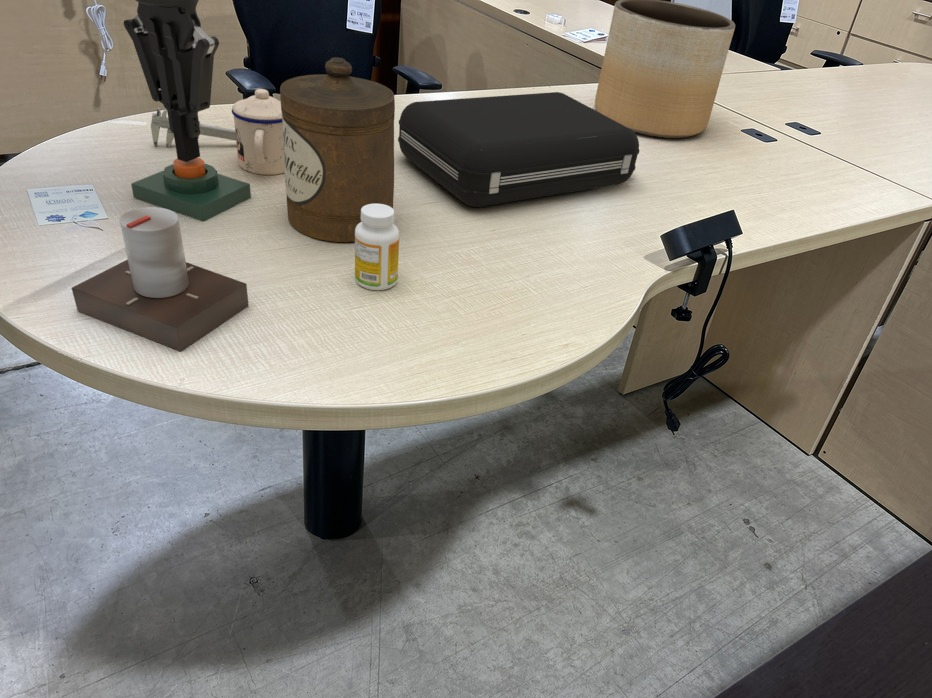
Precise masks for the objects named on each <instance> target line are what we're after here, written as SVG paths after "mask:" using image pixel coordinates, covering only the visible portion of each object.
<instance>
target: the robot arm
mask: <svg viewBox="0 0 932 698" xmlns="http://www.w3.org/2000/svg"><path fill="white" fill-rule="evenodd" d="M135 2H137V8H136V16H134V17H133V18H129V19H125V20H124V21H123V27H124V28H125V30H126V33H127V34H128V36H129V37H130V39H131V40H132V43H133V46H134V49H135V52H136V55H137V58H138V61H139V64H140V68H141V69H142V70H141V71H142V72H143V76H144V78H145V81H146V84H147V87H148V91H149V93H150V96H151V99H152V100H153V101H154V102H155V103H157V102H159V103H161V104H162V105H163V107H164V109H167V118H168V120H169V126H170V130H171V132H173V133H174V139H173V140H174V145H175V152H176V157H177V158H176V159H178V160H181V161H184V162H188V161H190V160H193V159H195V158H200V157H201V152H200V143H199V138H198V136H199V137H200V127H199V121H200V120H199V112H202V111H204V110H207V109H210V108H211V100H212V99H211V98H212V97H211V96H212V86H213V72H214V61H215V54H216V52H217V50H218V48H219V46H220V40H219V39H218V37H216V35H215V36H209V35H208V33H206V32H205V31H204V30H203V28H202V23H201V20H200V18H199V16H198V13H197V5H198V3H199V0H135Z"/></svg>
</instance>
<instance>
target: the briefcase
mask: <svg viewBox="0 0 932 698" xmlns="http://www.w3.org/2000/svg"><path fill="white" fill-rule="evenodd" d="M398 125H399V128H398V129H399V132H398V137H397V142H398V144H399V149H400V151H401V153H402V155H403V156H404V157H405V158H406V159H407V160H408V161H410V162H411V163H412V164H414V165H415V166H416V167H417V168H418V169H420V170H421V171H422V172H423V173H425V174H426V175H428V176H429V178H431V179H433V180H434V181H435V182H436V183H438V184H439V185H440V186H441V187H443V188H444V189H445V190H447V191H448V192H449V193H450V194H452V195H453V197H455V198H457V199H458V200H459V201H460V202H462V203H463V204H464V205H466V206H469V207H472V208H480V207H487V206H493V205H499V204H505V203H506V204H507V203H511V202H512V203H513V202H517V201H519V202H520V201H524V200H530V199H538V198H542V197H549V196H555V195H560V194H561V195H562V194H568V193H575V192H581V191H587V190H594V189H599V188H606V187H611V186H617V185H622V184H624V183H626V182H627V181H628V180H629V179H630V178H631V177H632V175H633V173H634V172H635V170H636V167H637V166H636V163H637V159H638V155H639V154H640V141H639V138H638V135H637V133H635V132H633V131H632V130H631V129H629V128H627V127H625V126H624V125H622V124H620V123H618V122H616V121H614V120H612V119H610V118H609V117H607V116H605V115H603V114H601V113H599V112H598V111H597V110H596V109H595V108H591V107H590V106H588V105H586V104H584V103H582V102H581V101H579V100H576V99H575V98H573V97H571V96H569V95H567V94H565V93H563V92H559V91H553V92H540V93H525V94H524V93H522V94H510V95H509V94H508V95H494V96H480V97H466V98H455V99H454V98H451V99H436V100H422V101H413V102H411V103H409V104H408V105H406V106H405V108H403V110H402V112H401V113H400V118H399V120H398Z"/></svg>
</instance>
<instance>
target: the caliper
mask: <svg viewBox="0 0 932 698" xmlns="http://www.w3.org/2000/svg"><path fill="white" fill-rule="evenodd" d="M199 127H200V135H202V136H207V137H211V138H218V139H223V140H224V139H225V140H230V141H236V133H235V129H233V128H227V127H222V126H216V125H210V124H204V123H201V121H200V120H199ZM161 128H162V129H167V130H166V138H165V148H170V147H171V145H172V143H173V141H174V140H175V139H174V133H173V132H171V130H170V126H169V120H168V113H167V109H166V108H164V110H163V111H162V112H161V108H160V107H159V106H157V109H156V113H155V112H153V113H152V116H151V122H150V131H151V136H152V142H153V145H154V146H155V147H158V145H159V144H158V143H159V137H160V130H161ZM200 135H199V136H198V139H199V138H200Z"/></svg>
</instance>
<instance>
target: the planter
mask: <svg viewBox="0 0 932 698" xmlns="http://www.w3.org/2000/svg"><path fill="white" fill-rule="evenodd" d="M735 29H736V24H735V22H734V21H733V20H732V19H730V18H729V17H726V16H724V15H721V14H719V13H717V12H713V11H710V10H707V9H704V8H701V7H697V6H692V5H688V4H683V3H678V2H673V1H668V0H616V1H615V3H614V6H613V12H612V16H611V22H610V27H609V31H608V37H607V41H606V46H605V51H604V55H603V60H602V64H601V69H600V74H599V79H598V83H597V88H596V94H595V97H594V109H595V111H597V112H599V113H601V114H603V115H605V116H607V117H609V118H610V119H612V120H614V121H616V122H618V123H620V124H622V125H624V126H625V127H627V128H629V129H631V130H632V131H633V132H634V133H635V134H639V135H644V136H649V137H654V136H655V137H654V138H662V137H663V138H664V139H683V138H689V137H690V138H691V137H693V136H696V135H699V134H700V133H702V132H703V131H705V130H706V128H707V126H708V125H709V122H710V118H711V115H712V112H713V108H714V104H715V100H716V97H717V94H718V90H719V86H720V82H721V79H722V76H723V71H724V68H725V65H726V61H727V57H728V54H729V49H730V46H731V42H732V39H733V36H734V32H735Z"/></svg>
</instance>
